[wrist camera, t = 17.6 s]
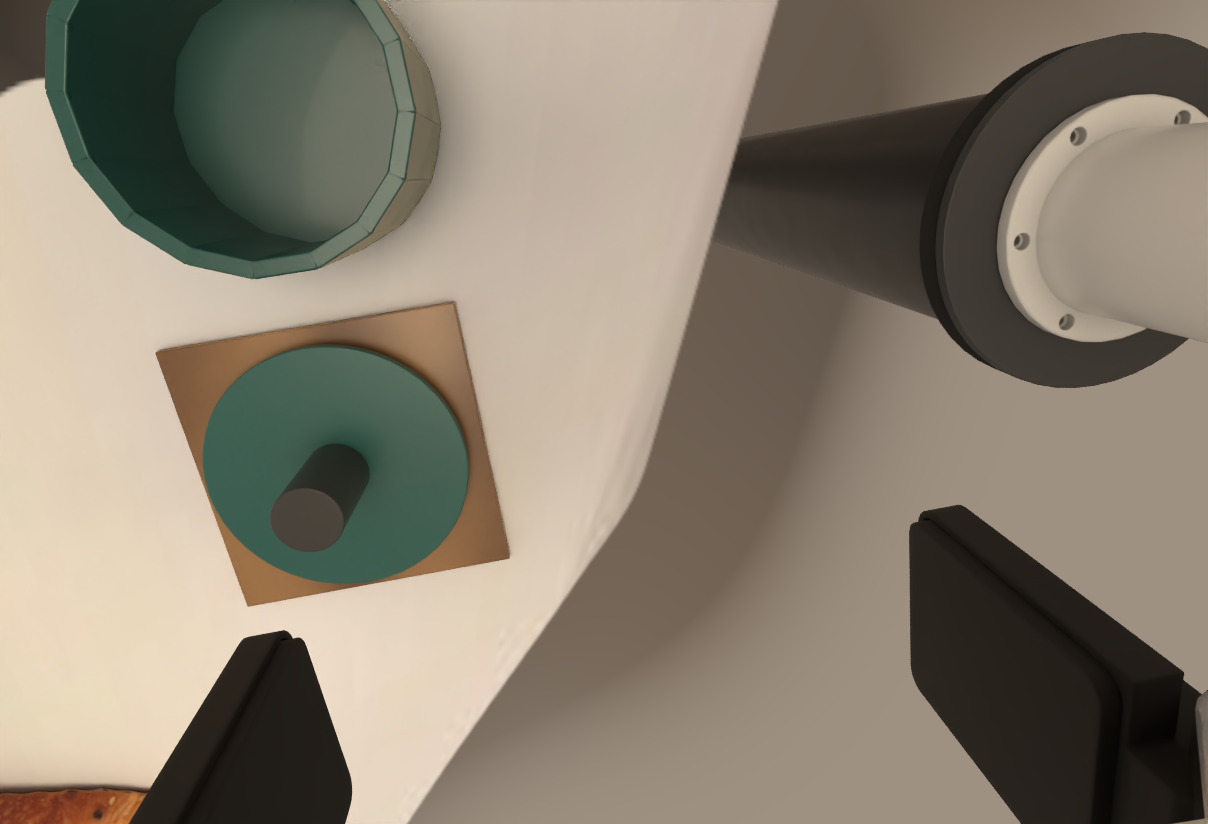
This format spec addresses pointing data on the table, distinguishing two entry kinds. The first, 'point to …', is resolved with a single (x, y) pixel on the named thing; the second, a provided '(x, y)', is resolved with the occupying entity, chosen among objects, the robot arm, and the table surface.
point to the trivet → (403, 335)
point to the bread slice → (70, 807)
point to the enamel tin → (245, 124)
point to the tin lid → (336, 464)
